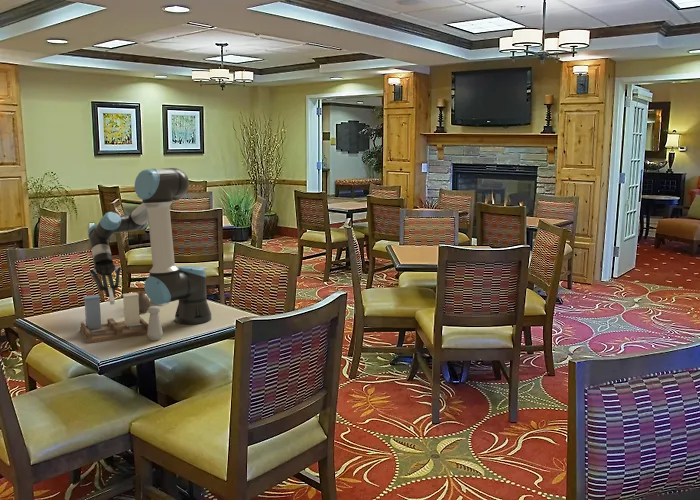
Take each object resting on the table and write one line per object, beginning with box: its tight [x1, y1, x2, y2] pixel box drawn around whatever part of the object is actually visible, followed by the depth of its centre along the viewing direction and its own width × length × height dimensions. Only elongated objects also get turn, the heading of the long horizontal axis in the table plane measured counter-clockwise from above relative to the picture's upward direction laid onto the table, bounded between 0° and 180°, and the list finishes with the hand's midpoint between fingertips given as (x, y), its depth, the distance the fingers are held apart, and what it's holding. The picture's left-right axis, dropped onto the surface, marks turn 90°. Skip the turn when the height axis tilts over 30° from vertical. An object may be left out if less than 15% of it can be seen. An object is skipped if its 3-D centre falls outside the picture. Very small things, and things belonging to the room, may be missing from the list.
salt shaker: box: [146, 306, 164, 342], centre depth 240 cm, size 6×6×13 cm
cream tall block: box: [122, 291, 141, 327], centre depth 252 cm, size 4×5×13 cm
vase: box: [137, 291, 150, 314], centre depth 279 cm, size 7×7×9 cm
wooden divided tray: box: [80, 315, 149, 344], centre depth 249 cm, size 18×23×4 cm
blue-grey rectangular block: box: [83, 294, 102, 330], centre depth 248 cm, size 4×5×13 cm
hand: (112, 302), depth 260 cm, fingers closed
